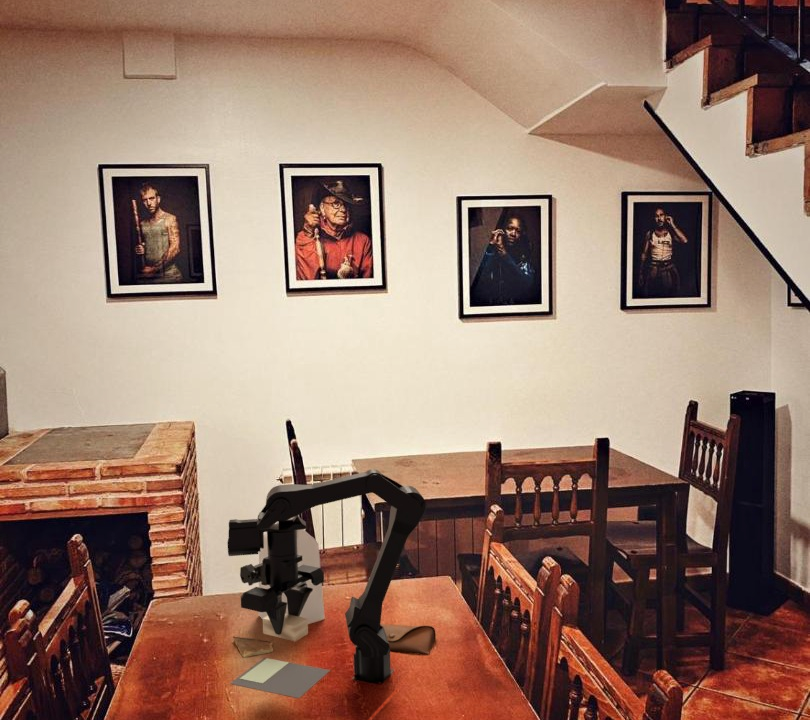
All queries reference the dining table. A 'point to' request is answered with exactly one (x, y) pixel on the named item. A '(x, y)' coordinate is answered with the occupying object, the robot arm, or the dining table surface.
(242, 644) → the shard
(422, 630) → the sunglasses case
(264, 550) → the milk
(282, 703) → the dining table surface
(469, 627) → the dining table surface
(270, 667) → the mat
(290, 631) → the birch block
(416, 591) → the dining table surface
